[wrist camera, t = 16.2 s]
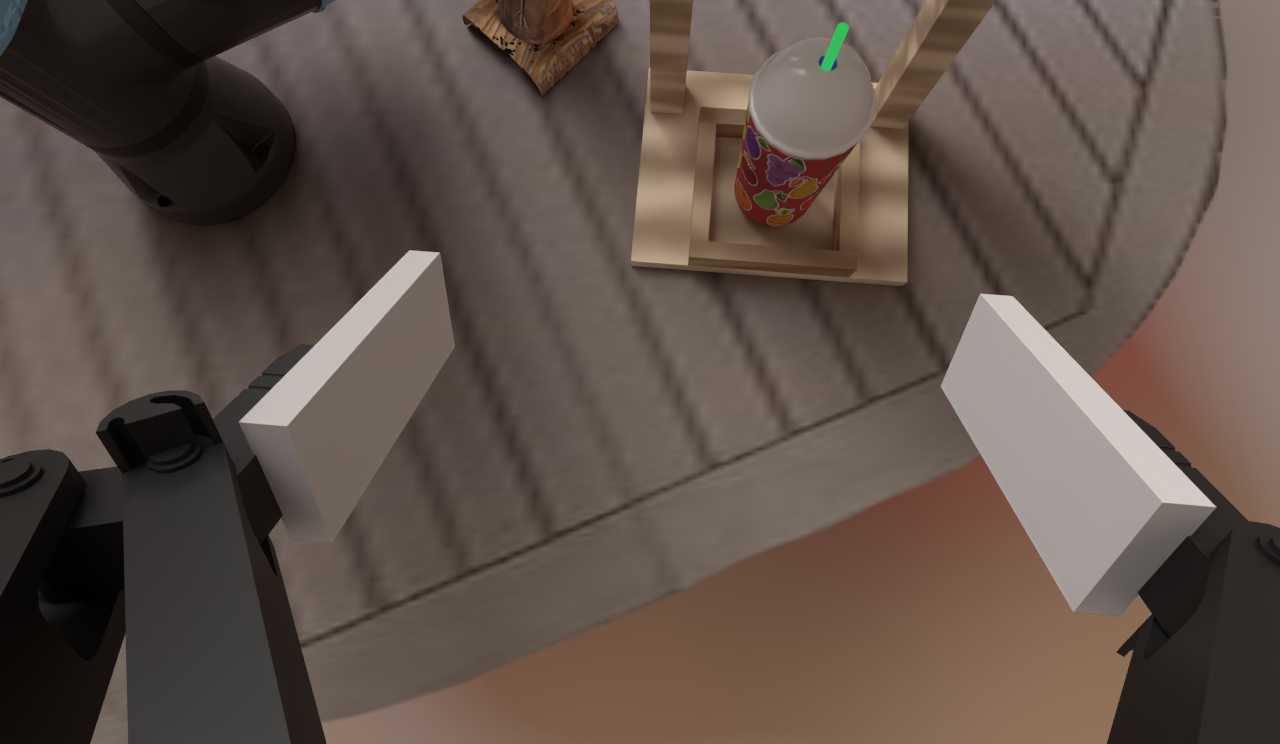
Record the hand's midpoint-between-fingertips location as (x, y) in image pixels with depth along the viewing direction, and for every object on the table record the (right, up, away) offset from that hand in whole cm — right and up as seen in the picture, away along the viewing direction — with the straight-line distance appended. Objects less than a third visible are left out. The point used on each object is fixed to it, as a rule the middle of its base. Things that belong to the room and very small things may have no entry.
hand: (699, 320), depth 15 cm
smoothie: (+10, +14, +38) cm, 41 cm away
